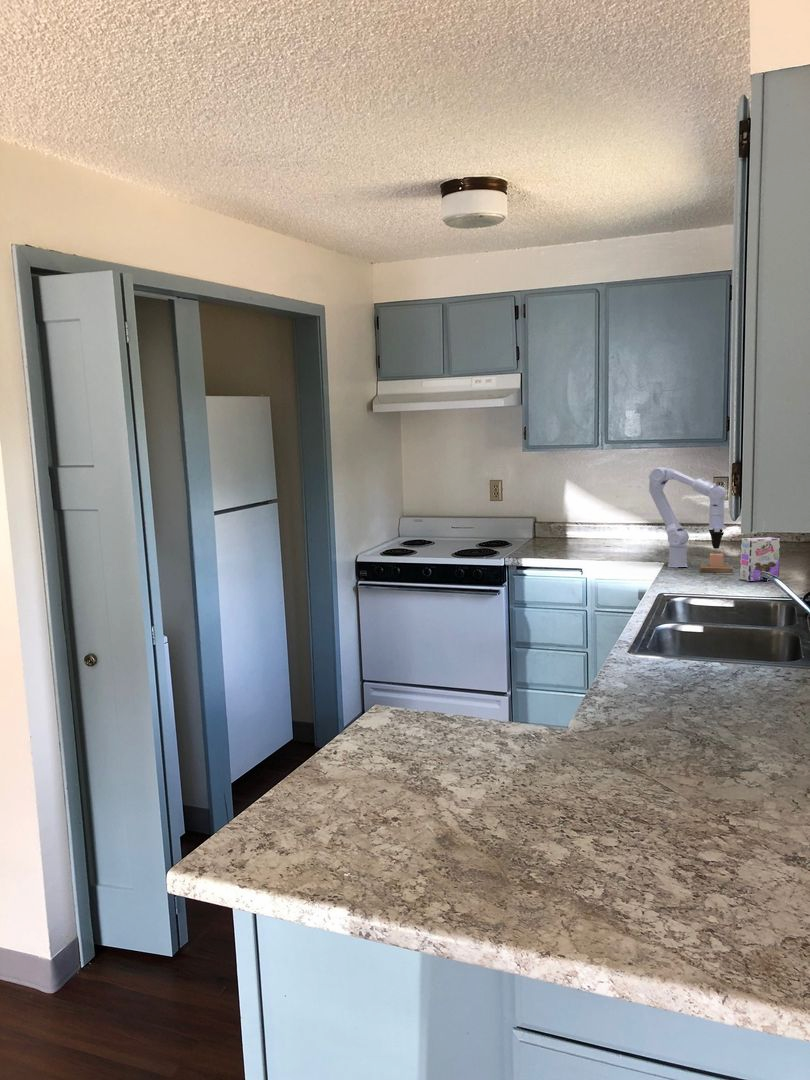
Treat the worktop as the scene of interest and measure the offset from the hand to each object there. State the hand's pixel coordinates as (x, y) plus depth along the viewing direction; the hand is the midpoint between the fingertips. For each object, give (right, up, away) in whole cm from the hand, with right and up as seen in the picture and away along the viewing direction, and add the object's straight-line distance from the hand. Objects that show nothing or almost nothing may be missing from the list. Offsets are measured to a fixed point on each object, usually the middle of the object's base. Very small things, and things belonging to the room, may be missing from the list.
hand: (715, 547), depth 351 cm
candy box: (+7, -13, -27) cm, 31 cm away
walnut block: (-2, -11, -5) cm, 12 cm away
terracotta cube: (-2, -8, -6) cm, 10 cm away
